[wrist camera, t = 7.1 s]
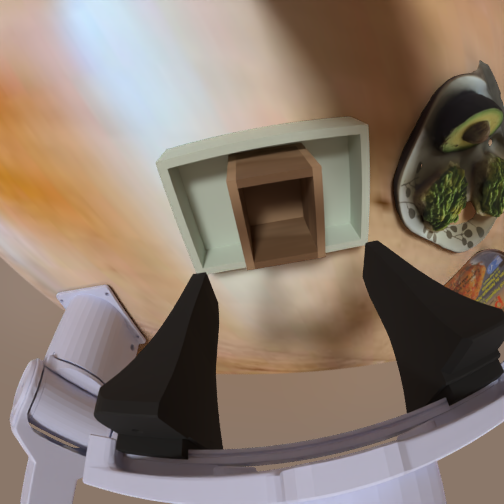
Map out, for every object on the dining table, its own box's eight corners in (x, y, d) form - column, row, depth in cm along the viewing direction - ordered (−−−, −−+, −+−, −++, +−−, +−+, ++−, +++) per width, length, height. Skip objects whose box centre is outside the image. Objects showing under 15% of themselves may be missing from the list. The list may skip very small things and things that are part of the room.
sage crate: (354, 224, 23) (367, 244, 20) (201, 252, 23) (197, 276, 21) (350, 116, 17) (368, 124, 15) (166, 149, 18) (155, 162, 16)
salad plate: (534, 151, 18) (559, 167, 14) (469, 262, 27) (488, 286, 23) (450, 37, 12) (488, 39, 9) (365, 204, 22) (388, 234, 18)
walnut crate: (308, 217, 21) (325, 256, 17) (244, 228, 22) (247, 270, 18) (301, 142, 18) (321, 166, 14) (228, 154, 18) (226, 182, 14)
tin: (490, 235, 24) (529, 280, 18) (494, 247, 25) (530, 290, 19) (409, 315, 31) (434, 367, 24) (418, 321, 32) (442, 371, 26)
